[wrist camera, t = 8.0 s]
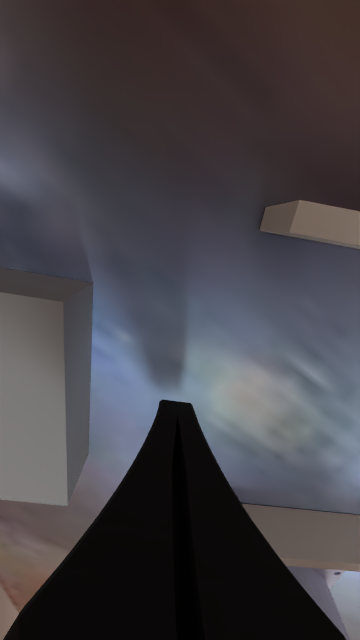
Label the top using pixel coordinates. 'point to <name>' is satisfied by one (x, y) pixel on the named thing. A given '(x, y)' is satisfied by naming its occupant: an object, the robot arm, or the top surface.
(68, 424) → the gray rectangular block
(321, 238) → the beige u-shaped frame
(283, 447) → the top surface
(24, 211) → the top surface
